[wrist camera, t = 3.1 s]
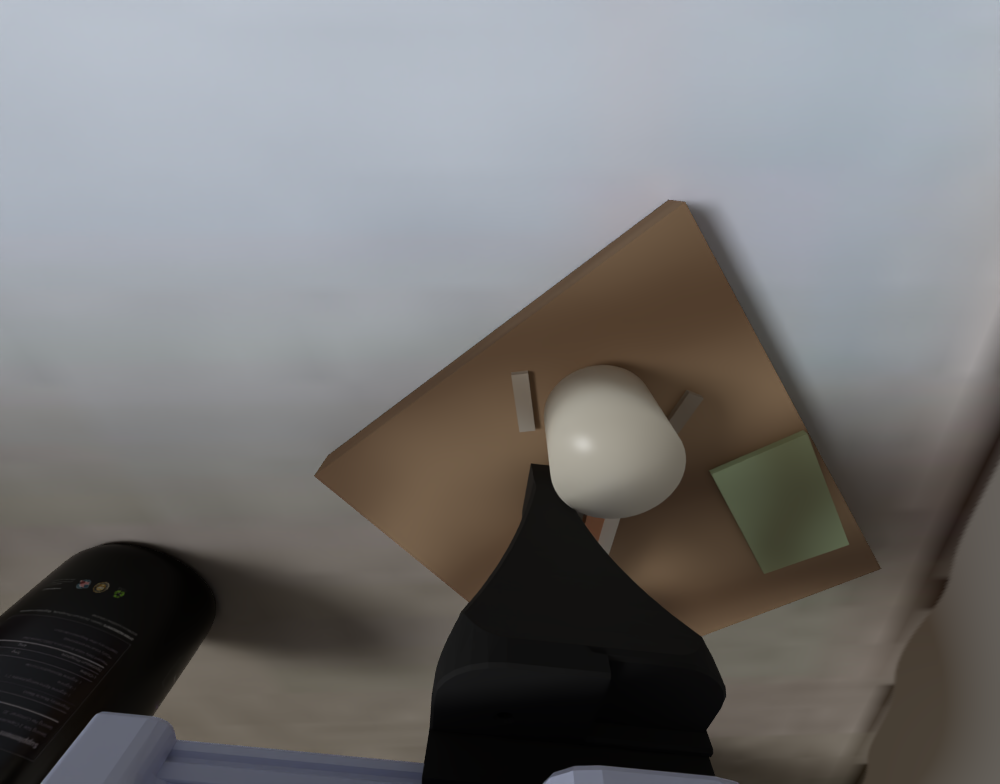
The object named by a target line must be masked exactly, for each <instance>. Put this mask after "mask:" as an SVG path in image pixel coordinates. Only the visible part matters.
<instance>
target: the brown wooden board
mask: <svg viewBox="0 0 1000 784" xmlns="http://www.w3.org/2000/svg"><path fill="white" fill-rule="evenodd" d="M596 365H611V366H617V367H620V368H623V369H626V370H628V371H630V372H632V373H633V374H635V375H636V376H638V377H639V378H640V379H641V380H642V381H643V382H644V383H645V385H646V386H647V388H648V389H649V391H650V392H651V394H652V396H653V397H654V399H655V400H656V402H657V403H658V405H659V407H660V408H661V410H662V411H663V413H664V414H665V416H666V417H667V419H668V421H669V422H670V424H671V425H672V427H673V428H674V430H675V432H676V433H677V435H678V436H679V438H680V440H681V441H682V444H683V446H684V449H685V454H686V465H685V471H684V474H683V477H682V479H681V481H680V483H679V485H678V486H677V488H676V489H675V490H674V491H673V493H672V494H671V495H670V496H669V497H668V498H667V499H666V500H664V501H663V502H662V503H660V504H659V505H657V506H656V507H654V508H652V509H650V510H648V511H646V512H644V513H641V514H638V515H635V516H631V517H626V518H620V521H619V524H618V527H617V530H616V534H615V537H614V540H613V543H612V546H611V549H610V553H609V556H610V557H611V558H612V559H613V560H614V562H615V563H616V564H617V565H618V566H619V567H620V568H621V569H622V570H623V571H624V572H625V573H626V574H627V575H628V576H629V577H630V578H631V579H632V580H633V581H634V582H635V583H636V584H637V585H638V586H639V587H640V588H642V589H643V590H644V591H645V592H646V593H647V594H648V595H649V596H650V597H652V598H653V599H654V600H655V601H656V602H657V603H659V604H660V605H661V606H662V607H663V608H664V609H666V610H667V611H668V612H669V613H671V614H672V615H673V616H675V617H676V618H677V619H679V620H680V621H681V622H683V623H684V624H685V625H687V626H688V627H689V628H691V629H692V630H693V631H695V632H696V633H697V634H699V635H700V636H703V635H706V634H709V633H711V632H714V631H717V630H719V629H722V628H725V627H727V626H730V625H733V624H735V623H738V622H741V621H743V620H746V619H749V618H751V617H754V616H757V615H759V614H762V613H765V612H767V611H770V610H773V609H775V608H778V607H781V606H783V605H786V604H789V603H791V602H794V601H797V600H799V599H802V598H805V597H807V596H810V595H813V594H815V593H818V592H821V591H823V590H826V589H829V588H831V587H834V586H837V585H839V584H842V583H845V582H847V581H850V580H853V579H855V578H858V577H861V576H863V575H866V574H869V573H871V572H874V571H877V570H879V569H881V568H880V566H879V564H878V562H877V560H876V558H875V556H874V554H873V553H872V551H871V549H870V547H869V545H868V543H867V541H866V540H865V538H864V536H863V534H862V532H861V530H860V528H859V526H858V525H857V523H856V521H855V519H854V517H853V515H852V513H851V511H850V510H849V508H848V506H847V504H846V502H845V500H844V498H843V496H842V495H841V493H840V491H839V489H838V487H837V485H836V483H835V482H834V480H833V478H832V476H831V474H830V472H829V470H828V468H827V467H826V465H825V463H824V461H823V459H822V457H821V455H820V453H819V452H818V450H817V448H816V446H815V444H814V442H813V440H812V438H811V437H810V435H809V433H808V431H807V429H806V427H805V425H804V424H803V422H802V420H801V418H800V416H799V414H798V412H797V410H796V409H795V407H794V405H793V403H792V401H791V399H790V397H789V395H788V394H787V392H786V390H785V388H784V386H783V384H782V382H781V380H780V379H779V377H778V375H777V373H776V371H775V369H774V367H773V366H772V364H771V362H770V360H769V358H768V356H767V354H766V352H765V351H764V349H763V347H762V345H761V343H760V341H759V339H758V337H757V336H756V334H755V332H754V330H753V328H752V326H751V324H750V323H749V321H748V319H747V317H746V315H745V313H744V311H743V309H742V308H741V306H740V304H739V302H738V300H737V298H736V296H735V294H734V293H733V291H732V289H731V287H730V285H729V283H728V281H727V279H726V278H725V276H724V274H723V272H722V270H721V268H720V266H719V265H718V263H717V261H716V259H715V257H714V255H713V253H712V251H711V250H710V248H709V246H708V244H707V242H706V240H705V238H704V236H703V235H702V233H701V231H700V229H699V227H698V225H697V223H696V221H695V220H694V218H693V216H692V214H691V212H690V210H689V208H688V207H687V205H686V203H685V202H681V201H673V200H668V201H666V202H665V203H664V204H662V205H661V206H660V207H658V208H657V209H656V210H654V211H653V212H652V213H650V214H649V215H648V216H646V217H645V218H644V219H642V220H641V221H640V222H638V223H637V224H636V225H634V226H633V227H632V228H630V229H629V230H628V231H626V232H625V233H624V234H622V235H621V236H620V237H618V238H617V239H616V240H614V241H613V242H612V243H610V244H609V245H608V246H606V247H605V248H604V249H602V250H601V251H600V252H598V253H597V254H596V255H594V256H593V257H592V258H590V259H589V260H588V261H586V262H585V263H584V264H582V265H581V266H580V267H578V268H577V269H576V270H574V271H573V272H572V273H570V274H569V275H568V276H566V277H565V278H564V279H562V280H561V281H560V282H558V283H557V284H556V285H554V286H553V287H552V288H550V289H549V290H548V291H546V292H545V293H544V294H542V295H541V296H540V297H538V298H537V299H536V300H534V301H533V302H532V303H530V304H529V305H528V306H526V307H525V308H524V309H522V310H521V311H520V312H518V313H517V314H516V315H514V316H513V317H512V318H510V319H509V320H508V321H506V322H505V323H504V324H502V325H501V326H500V327H498V328H497V329H496V330H494V331H493V332H492V333H490V334H489V335H488V336H486V337H485V338H484V339H482V340H481V341H480V342H478V343H477V344H476V345H474V346H473V347H472V348H470V349H469V350H468V351H466V352H465V353H464V354H462V355H461V356H460V357H458V358H457V359H456V360H454V361H453V362H452V363H450V364H449V365H448V366H446V367H445V368H444V369H442V370H441V371H440V372H438V373H437V374H436V375H434V376H433V377H432V378H430V379H429V380H428V381H426V382H425V383H424V384H422V385H421V386H420V387H419V388H417V389H416V390H415V391H413V392H412V393H411V394H409V395H408V396H407V397H405V398H404V399H403V400H401V401H400V402H399V403H397V404H396V405H395V406H393V407H392V408H391V409H389V410H388V411H387V412H385V413H384V414H383V415H381V416H380V417H379V418H377V419H376V420H375V421H373V422H372V423H371V424H369V425H368V426H367V427H365V428H364V429H363V430H361V431H360V432H359V433H357V434H356V435H355V436H353V437H352V438H351V439H349V440H348V441H347V442H345V443H344V444H343V445H341V446H340V447H339V448H337V449H336V450H335V451H333V452H332V453H331V454H329V455H328V456H327V458H326V459H325V461H324V462H323V464H322V465H321V467H320V468H319V469H318V471H317V472H316V474H315V475H314V476H315V477H316V478H317V479H318V480H320V481H321V482H322V483H323V484H325V485H326V486H327V487H328V488H330V489H331V490H332V491H333V492H334V493H336V494H337V495H338V496H339V497H341V498H342V499H343V500H344V501H345V502H347V503H348V504H349V505H350V506H352V507H353V508H354V509H355V510H356V511H358V512H359V513H360V514H361V515H363V516H364V517H365V518H366V519H368V520H369V521H370V522H371V523H372V524H374V525H375V526H376V527H377V528H379V529H380V530H381V531H382V532H383V533H385V534H386V535H387V536H388V537H390V538H391V539H392V540H393V541H394V542H396V543H397V544H398V545H399V546H401V547H402V548H403V549H404V550H406V551H407V552H408V553H409V554H410V555H412V556H413V557H414V558H415V559H417V560H418V561H419V562H420V563H421V564H423V565H424V566H425V567H426V568H428V569H429V570H430V571H431V572H432V573H434V574H435V575H436V576H437V577H439V578H440V579H441V580H442V581H444V582H445V583H446V584H447V585H448V586H450V587H451V588H452V589H453V590H455V591H456V592H457V593H458V594H459V595H461V596H462V597H463V598H464V599H466V600H467V601H468V602H470V601H471V600H472V598H473V597H474V596H475V595H476V594H477V593H478V591H479V590H480V589H481V587H482V586H483V585H484V583H485V582H486V581H487V579H488V578H489V576H490V575H491V574H492V572H493V571H494V569H495V568H496V566H497V565H498V563H499V562H500V560H501V558H502V557H503V555H504V553H505V552H506V550H507V548H508V547H509V545H510V543H511V541H512V539H513V537H514V535H515V533H516V531H517V529H518V527H519V525H520V522H521V520H522V509H523V503H524V498H525V492H526V487H527V481H528V476H529V470H530V465H531V463H533V464H542V465H549V458H548V449H547V441H546V433H545V425H544V408H545V404H546V401H547V399H548V396H549V395H550V393H551V391H552V390H553V389H554V387H555V386H556V385H557V384H558V383H559V382H560V381H561V380H562V379H564V378H565V377H566V376H568V375H570V374H571V373H573V372H575V371H577V370H579V369H583V368H586V367H590V366H596Z"/></svg>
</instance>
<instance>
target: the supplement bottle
mask: <svg viewBox="0 0 1000 784" xmlns="http://www.w3.org/2000/svg"><path fill="white" fill-rule="evenodd" d="M215 616H216V603H215V599H214V596H213V594H212V592H211V590H210V588H209V586H208V585H207V584H206V582H205V581H204V580H203V579H202V578H201V577H200V576H199V575H198V574H197V573H196V572H195V571H193V570H192V569H191V568H189V567H188V566H186V565H185V564H183V563H182V562H180V561H178V560H177V559H175V558H173V557H171V556H168V555H166V554H164V553H161V552H158V551H156V550H152V549H149V548H145V547H141V546H135V545H128V544H109V545H101V546H96V547H92V548H89V549H86V550H84V551H81V552H79V553H77V554H75V555H74V556H72V557H71V558H69V559H68V560H66V561H65V562H64V563H63V564H61V565H60V566H59V567H58V568H57V569H55V570H54V571H53V572H52V573H50V574H49V575H48V576H47V577H46V578H45V579H43V580H42V581H41V582H40V583H39V584H37V585H36V586H35V587H34V588H33V589H31V590H30V591H29V592H28V593H27V594H26V595H24V596H23V597H22V598H21V599H20V600H18V601H17V602H16V603H15V604H14V605H12V606H11V607H10V608H9V609H8V610H7V611H5V612H4V613H3V614H2V615H1V616H0V784H41V782H42V781H43V780H44V779H45V777H46V776H47V775H48V774H49V772H50V771H51V770H52V768H53V767H54V766H55V765H56V763H57V762H58V761H59V760H60V758H61V757H62V756H63V755H64V753H65V752H66V751H67V750H68V748H69V747H70V746H71V745H72V743H73V742H74V741H75V740H76V738H77V737H78V736H79V735H80V733H81V732H82V731H83V729H84V728H85V727H86V726H87V724H88V723H89V722H90V721H91V719H92V718H93V717H94V716H95V715H96V714H98V713H100V712H113V713H124V714H134V715H145V716H153V715H154V713H155V712H156V710H157V709H158V707H159V706H160V704H161V703H162V702H163V700H164V699H165V697H166V696H167V694H168V693H169V691H170V690H171V688H172V687H173V685H174V684H175V682H176V681H177V679H178V678H179V676H180V675H181V673H182V672H183V670H184V669H185V667H186V666H187V664H188V663H189V661H190V660H191V658H192V657H193V655H194V654H195V652H196V651H197V649H198V648H199V646H200V645H201V643H202V642H203V640H204V639H205V637H206V636H207V634H208V633H209V631H210V629H211V627H212V625H213V623H214V620H215Z"/></svg>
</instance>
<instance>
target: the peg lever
mask: <svg viewBox="0 0 1000 784" xmlns="http://www.w3.org/2000/svg"><path fill="white" fill-rule="evenodd" d="M544 425H545V433H546V441H547V449H548V458H549V466H550V474H551V480H552V484H553V486H554V489H555V491H556V492H557V494H558V496H559V497H560V498H561V499H562V500H563V501H564V502H565V503H566V504H567V505H568V506H570V507H571V508H573V509H574V510H576V512H577V513H578V515H579V517H580V518H581V519H582V521H583V522H584V524H585V525H586V527H587V528H588V529H589V531H590V532H591V534H592V535H593V536H594V538H595V539H596V540H597V541H598V543H599V544H600V545H601V546H602V548H603V549H604V550H605V551H606V552H607V554H608V555H609V553H610V549H611V546H612V543H613V540H614V537H615V534H616V530H617V527H618V524H619V521H620V518H626V517H631V516H635V515H638V514H641V513H644V512H646V511H648V510H650V509H652V508H654V507H656V506H657V505H659V504H660V503H662V502H663V501H664V500H666V499H667V498H668V497H669V496H670V495H671V494H672V493H673V491H674V490H675V489H676V488H677V486H678V485H679V483H680V481H681V479H682V477H683V474H684V471H685V465H686V454H685V449H684V446H683V444H682V441H681V440H680V438H679V436H678V435H677V433H676V432H675V430H674V428H673V427H672V425H671V424H670V422H669V421H668V419H667V417H666V416H665V414H664V413H663V411H662V410H661V408H660V407H659V405H658V403H657V402H656V400H655V399H654V397H653V396H652V394H651V392H650V391H649V389H648V388H647V386H646V385H645V383H644V382H643V381H642V380H641V379H640V378H639V377H638V376H636V375H635V374H633V373H632V372H630V371H628V370H626V369H623V368H620V367H617V366H611V365H596V366H590V367H586V368H583V369H579V370H577V371H575V372H573V373H571V374H570V375H568V376H566V377H565V378H564V379H562V380H561V381H560V382H559V383H558V384H557V385H556V386H555V387H554V389H553V390H552V391H551V393H550V395H549V396H548V399H547V401H546V404H545V408H544Z"/></svg>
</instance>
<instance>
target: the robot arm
mask: <svg viewBox="0 0 1000 784" xmlns="http://www.w3.org/2000/svg"><path fill="white" fill-rule="evenodd" d="M725 698H726V689H725V685H724V683H723V680H722V678H721V675H720V673H719V671H718V668H717V666H716V664H715V662H714V659H713V657H712V655H711V653H710V652H709V650H708V648H707V646H706V644H705V642H704V640H703V638H702V637H701V636H700V635H699V634H697V633H696V632H695V631H693V630H692V629H691V628H689V627H688V626H687V625H685V624H684V623H683V622H681V621H680V620H679V619H677V618H676V617H675V616H673V615H672V614H671V613H669V612H668V611H667V610H666V609H664V608H663V607H662V606H661V605H660V604H659V603H657V602H656V601H655V600H654V599H653V598H652V597H650V596H649V595H648V594H647V593H646V592H645V591H644V590H643V589H642V588H640V587H639V586H638V585H637V584H636V583H635V582H634V581H633V580H632V579H631V578H630V577H629V576H628V575H627V574H626V573H625V572H624V571H623V570H622V569H621V568H620V567H619V566H618V565H617V564H616V563H615V562H614V560H613V559H612V558H611V557H610V556H609V555H608V554H607V552H606V551H605V550H604V549H603V548H602V546H601V545H600V544H599V543H598V541H597V540H596V539H595V538H594V536H593V535H592V534H591V532H590V531H589V529H588V528H587V527H586V525H585V524H584V522H583V521H582V519H581V518H580V517H579V515H578V513H577V512H576V510H574V509H573V508H571V507H570V506H568V505H567V504H566V503H565V502H564V501H563V500H562V499H561V498H560V497H559V496H558V494H557V492H556V491H555V489H554V486H553V484H552V480H551V474H550V466H549V465H542V464H533V463H531V465H530V470H529V476H528V481H527V487H526V492H525V498H524V503H523V509H522V520H521V522H520V525H519V527H518V529H517V531H516V533H515V535H514V537H513V539H512V541H511V543H510V545H509V547H508V548H507V550H506V552H505V553H504V555H503V557H502V558H501V560H500V562H499V563H498V565H497V566H496V568H495V569H494V571H493V572H492V574H491V575H490V576H489V578H488V579H487V581H486V582H485V583H484V585H483V586H482V587H481V589H480V590H479V591H478V593H477V594H476V595H475V596H474V597H473V598H472V600H471V601H470V602H469V603H468V604H467V606H466V607H465V608H464V609H463V610H462V611H461V613H460V616H459V618H458V620H457V622H456V623H455V625H454V627H453V629H452V631H451V633H450V635H449V637H448V639H447V642H446V644H445V646H444V648H443V651H442V653H441V656H440V658H439V661H438V665H437V668H436V673H435V679H434V685H433V691H432V701H431V716H430V729H429V736H428V742H427V748H426V755H425V761H424V763H416V762H405V761H395V760H384V759H374V758H363V757H353V756H342V755H331V754H321V753H310V752H300V751H289V750H279V749H268V748H258V747H247V746H237V745H226V744H215V743H205V742H194V741H184V740H176V736H175V731H174V729H173V727H172V725H171V724H170V723H169V722H167V721H165V720H163V719H161V718H158V717H153V716H145V715H134V714H124V713H113V712H100V713H98V714H96V715H95V716H94V717H93V718H92V719H91V721H90V722H89V723H88V724H87V726H86V727H85V728H84V729H83V731H82V732H81V733H80V735H79V736H78V737H77V738H76V740H75V741H74V742H73V743H72V745H71V746H70V747H69V748H68V750H67V751H66V752H65V753H64V755H63V756H62V757H61V758H60V760H59V761H58V762H57V763H56V765H55V766H54V767H53V768H52V770H51V771H50V772H49V774H48V775H47V776H46V777H45V779H44V780H43V781H42V782H41V784H739V783H738V782H736V781H732V780H728V779H724V778H720V777H716V776H715V774H714V771H713V768H712V765H711V762H710V759H709V757H711V756H712V754H713V748H712V745H711V742H710V739H709V737H708V734H707V731H706V730H707V728H708V727H709V725H710V724H711V722H712V721H713V719H714V718H715V716H716V715H717V713H718V712H719V710H720V709H721V707H722V705H723V702H724V700H725Z"/></svg>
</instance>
